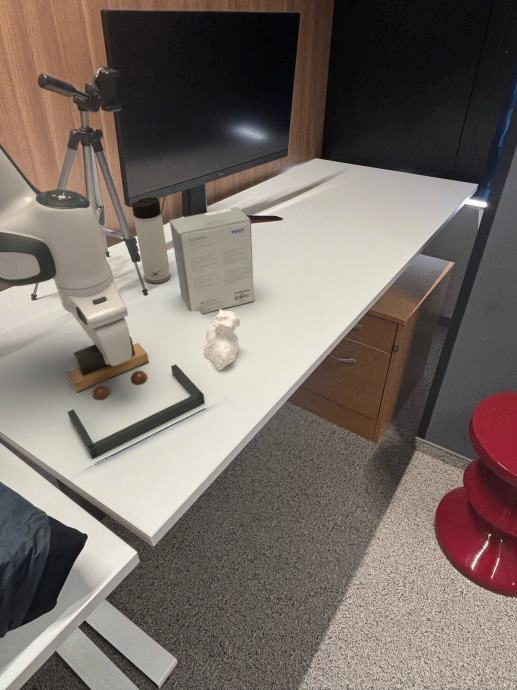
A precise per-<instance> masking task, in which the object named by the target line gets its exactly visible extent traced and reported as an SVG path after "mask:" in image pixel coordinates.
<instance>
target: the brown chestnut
mask: <svg viewBox="0 0 517 690" xmlns="http://www.w3.org/2000/svg"><path fill="white" fill-rule="evenodd" d="M110 395H111V391H110V389H109V387H108V386H106V385H102V384H100V385H96V387H94V389H93V390H92V398H93V399H94V400H95V401H103V400H106V399H108V397H109V396H110Z"/></svg>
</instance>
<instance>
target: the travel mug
mask: <svg viewBox="0 0 517 690" xmlns="http://www.w3.org/2000/svg"><path fill="white" fill-rule="evenodd" d="M131 209H132V214H133V220H134V226H135V231H136V232H135V233H136V237H137V243H138V248H139V253H140V258H141V264H142V269H143V275H144V276H143V277H144V279H145V281H146V282H147V283H149V284H155V285H157V284H159V285H160V284H162V283H165V282H167V281H169V280H170V278H171V271H170V262H169V256H168V249H167V243H166V235H165V229H164V228H165V227H164V222H163V215H162V210H161V204H160V199H159V198H158V197H144V198H141V199H138V200H137V201H135V202H132V204H131Z"/></svg>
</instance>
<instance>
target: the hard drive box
mask: <svg viewBox="0 0 517 690" xmlns="http://www.w3.org/2000/svg"><path fill="white" fill-rule="evenodd" d="M168 221H169V226H170V233H171V238H172V239H171V240H172V246H173V252H174V259H175V264H176V270H177V271H176V272H177V276H178V284H179V290H180V296H181V298H182V300H183V302H184V304H185V305H186V308H187V310H188V311H189V312H195V311H198V312H199V313H200V314H201V315H202V314H207V313H212V312H214V311H217V310H218V311H219V310H220V309H222V310H223V309H226V308H231V307H235V306H236V307H237V306H240V305H243V304H244V305H245V304H247V303H251V302H253V301H254V300H255V291H254V290H255V288H254V269H253V268H254V265H253V244H252V220H251V218H250V217H249V216H247V214H246V213H245V212H244V211H243V210H241V208H239V207H238V206H236V207H231V208H224V209H220V210H214V211H209V212H204V213H199V214H194V215H190V216H183V217H180V218H174V219H170V220H168Z"/></svg>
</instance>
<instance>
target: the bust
mask: <svg viewBox="0 0 517 690" xmlns="http://www.w3.org/2000/svg"><path fill="white" fill-rule="evenodd" d="M240 323H241V320H240V318H239V316H238V314H237V313H236V312H234V311H229V310H223V309H218V314H216V315H215V316H214V317H212V322H211V323H210V324H209V326H208V327H207V329H206V333H205V345H204V348H203V357H205V359H207V360H208V361H209V362H210V363H211V364H212V365H213V367H214V369H215V370H217V371H218V372H220V371H223V370H224V369H225V368H226V367H227V366H229V364H231V363H233V362H235V361H236V360H237V357H238V352H239V350H240V345H239V338H238V335H237V334H236V333H235V330H236V328H237V327H239V326H240V325H241V324H240Z"/></svg>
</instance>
